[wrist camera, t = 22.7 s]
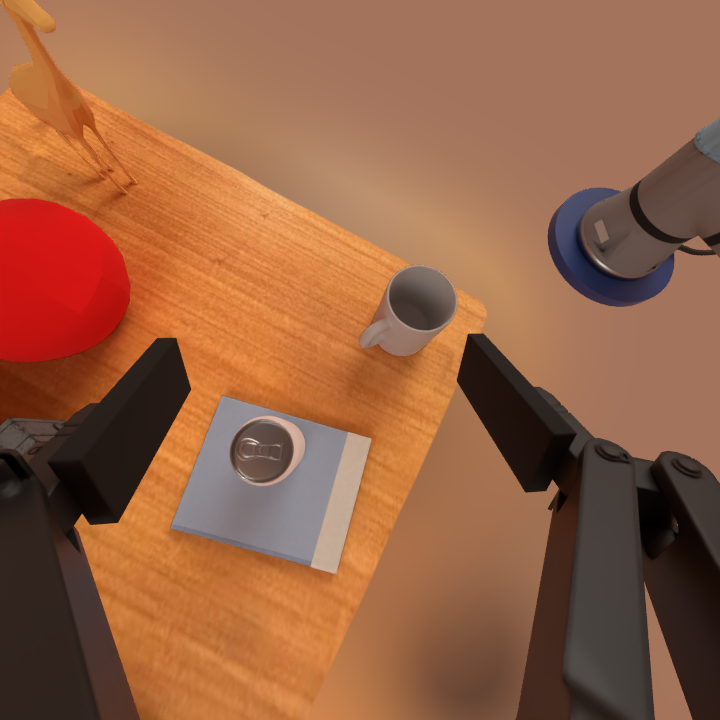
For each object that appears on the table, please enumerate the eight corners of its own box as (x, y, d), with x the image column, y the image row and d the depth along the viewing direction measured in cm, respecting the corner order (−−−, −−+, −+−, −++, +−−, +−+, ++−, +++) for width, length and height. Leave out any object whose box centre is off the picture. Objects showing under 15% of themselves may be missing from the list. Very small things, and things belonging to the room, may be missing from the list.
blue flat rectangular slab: (370, 438, 43) (371, 438, 42) (335, 570, 39) (336, 574, 38) (224, 396, 42) (221, 395, 41) (174, 526, 38) (169, 529, 37)
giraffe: (186, 206, 48) (48, -28, 24) (167, 227, 47) (0, 4, 23) (96, 149, 48) (-131, -137, 24) (74, 169, 47) (-187, -111, 23)
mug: (407, 291, 49) (431, 251, 38) (439, 338, 48) (473, 310, 37) (340, 330, 46) (345, 298, 35) (372, 380, 45) (387, 363, 34)
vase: (175, 336, 43) (64, 262, 25) (27, 399, 40) (-233, 367, 21) (126, 226, 46) (-7, 86, 28) (-17, 275, 42) (-279, 151, 24)
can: (257, 418, 41) (231, 411, 29) (308, 422, 42) (302, 417, 30) (249, 471, 39) (217, 486, 28) (302, 475, 40) (293, 491, 28)
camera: (89, 414, 40) (14, 407, 30) (112, 434, 40) (44, 433, 30) (-31, 531, 36) (-161, 566, 26) (-5, 554, 36) (-127, 597, 26)
